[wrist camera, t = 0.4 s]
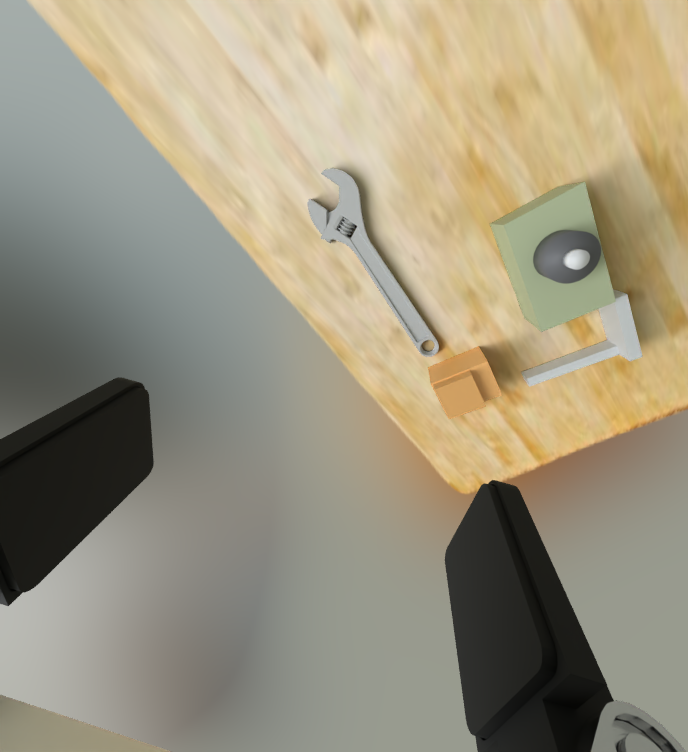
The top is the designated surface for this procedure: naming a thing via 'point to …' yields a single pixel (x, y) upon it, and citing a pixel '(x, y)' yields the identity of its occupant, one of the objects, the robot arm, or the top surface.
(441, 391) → the stepped orange block
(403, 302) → the adjustable wrench
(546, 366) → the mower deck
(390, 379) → the top surface
